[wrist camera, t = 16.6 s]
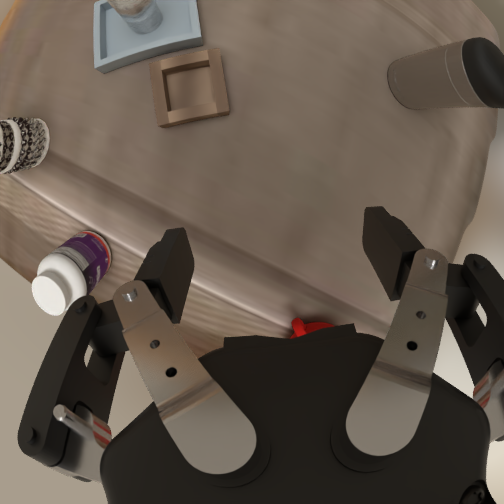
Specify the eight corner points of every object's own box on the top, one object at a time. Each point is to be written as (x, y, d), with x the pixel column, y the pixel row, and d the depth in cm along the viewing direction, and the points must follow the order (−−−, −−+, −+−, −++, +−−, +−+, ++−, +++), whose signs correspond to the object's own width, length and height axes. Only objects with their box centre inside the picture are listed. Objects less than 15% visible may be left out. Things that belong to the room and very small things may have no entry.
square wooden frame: (219, 57, 30) (219, 48, 26) (228, 114, 33) (229, 110, 30) (156, 71, 30) (149, 63, 26) (164, 128, 33) (157, 125, 29)
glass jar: (163, 4, 24) (140, -45, 11) (165, 29, 26) (140, -18, 13) (129, 14, 24) (95, -28, 11) (130, 40, 26) (92, 0, 13)
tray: (194, -16, 24) (192, -27, 21) (202, 45, 29) (201, 36, 26) (102, 11, 23) (94, 3, 20) (104, 73, 28) (94, 68, 25)
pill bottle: (98, 283, 41) (62, 335, 27) (65, 253, 38) (19, 295, 25) (122, 251, 39) (83, 298, 26) (86, 218, 36) (35, 253, 23)
